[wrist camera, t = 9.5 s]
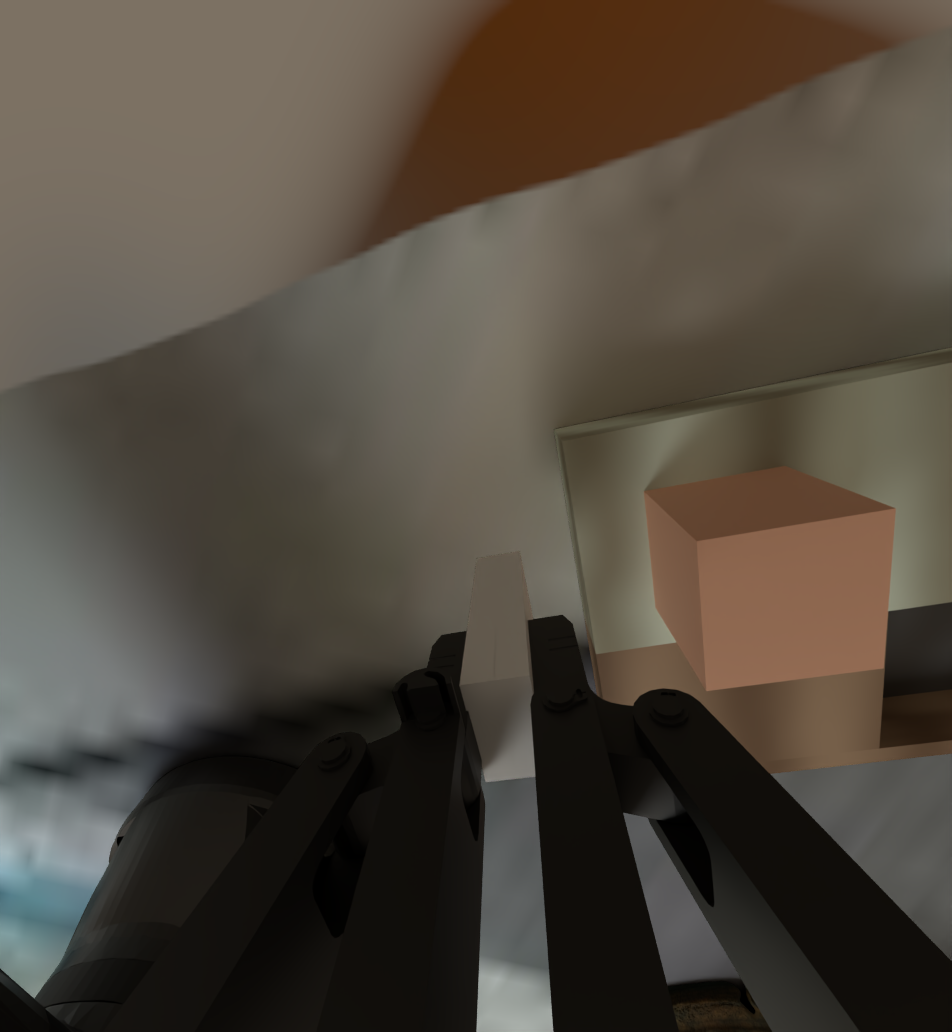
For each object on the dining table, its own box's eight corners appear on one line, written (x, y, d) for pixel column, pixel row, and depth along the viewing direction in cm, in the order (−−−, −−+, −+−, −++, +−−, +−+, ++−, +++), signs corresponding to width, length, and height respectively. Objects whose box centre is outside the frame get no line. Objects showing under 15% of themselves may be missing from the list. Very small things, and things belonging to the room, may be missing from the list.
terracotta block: (655, 607, 19) (706, 691, 14) (643, 491, 17) (696, 541, 13) (785, 588, 18) (883, 668, 14) (784, 465, 17) (896, 508, 12)
